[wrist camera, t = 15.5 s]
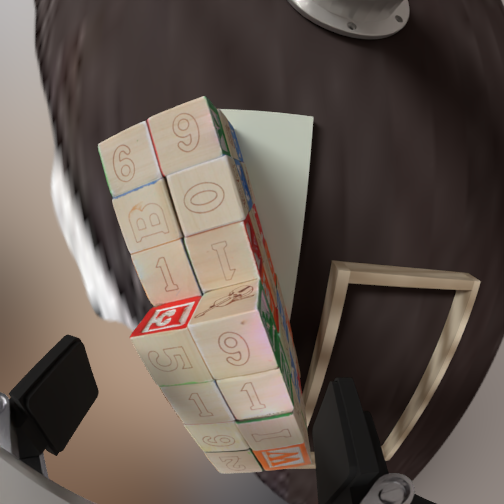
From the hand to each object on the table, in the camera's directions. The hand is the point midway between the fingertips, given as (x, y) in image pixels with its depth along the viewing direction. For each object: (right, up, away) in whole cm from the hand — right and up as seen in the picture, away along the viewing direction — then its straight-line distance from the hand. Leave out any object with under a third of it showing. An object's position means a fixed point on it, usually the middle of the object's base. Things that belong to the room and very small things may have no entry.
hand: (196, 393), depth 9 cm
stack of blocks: (+1, +4, +14) cm, 15 cm away
